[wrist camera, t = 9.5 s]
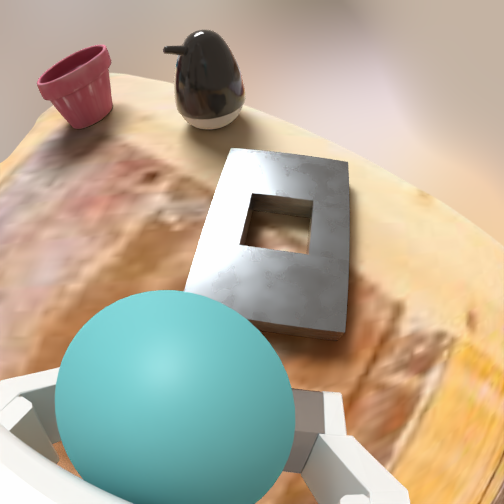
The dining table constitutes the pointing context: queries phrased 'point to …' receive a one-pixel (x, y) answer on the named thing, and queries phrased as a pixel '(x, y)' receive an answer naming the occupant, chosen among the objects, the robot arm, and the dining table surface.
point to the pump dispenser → (207, 81)
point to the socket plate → (274, 261)
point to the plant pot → (80, 86)
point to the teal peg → (175, 402)
